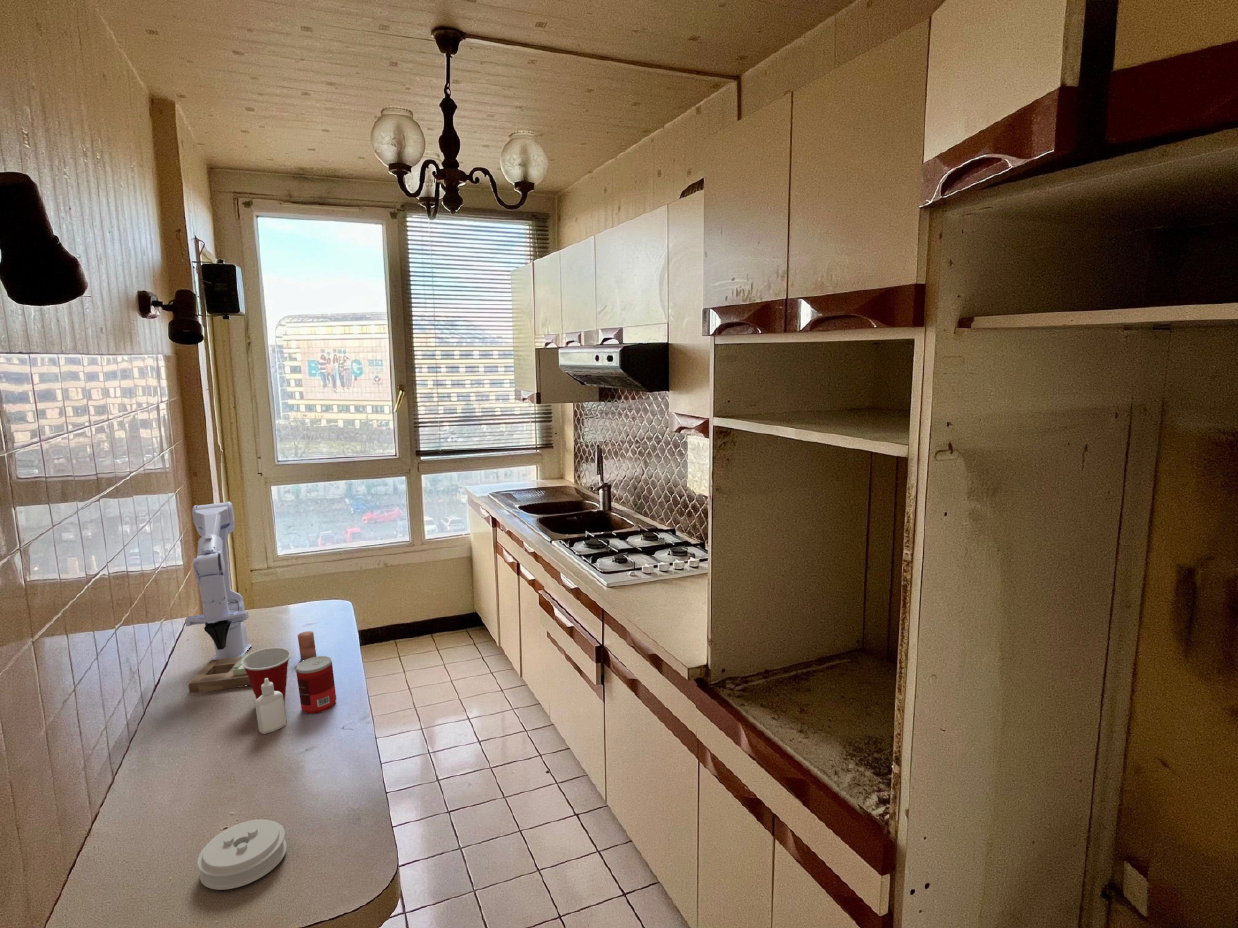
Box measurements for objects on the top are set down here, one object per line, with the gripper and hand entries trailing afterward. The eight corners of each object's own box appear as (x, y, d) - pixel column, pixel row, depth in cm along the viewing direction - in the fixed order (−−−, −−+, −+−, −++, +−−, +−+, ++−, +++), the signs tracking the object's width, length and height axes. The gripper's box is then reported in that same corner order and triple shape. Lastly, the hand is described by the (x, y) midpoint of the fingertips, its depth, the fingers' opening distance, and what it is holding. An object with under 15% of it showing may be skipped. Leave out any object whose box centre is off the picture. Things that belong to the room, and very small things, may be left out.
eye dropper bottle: (285, 729, 155) (279, 680, 153) (258, 735, 153) (250, 685, 151) (287, 720, 159) (281, 671, 157) (260, 726, 157) (253, 677, 155)
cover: (247, 658, 188) (246, 652, 188) (282, 654, 190) (281, 648, 189) (233, 675, 178) (232, 668, 178) (270, 670, 180) (269, 664, 179)
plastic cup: (260, 718, 161) (253, 670, 159) (239, 705, 167) (232, 659, 165) (305, 698, 169) (299, 652, 167) (283, 687, 176) (277, 643, 174)
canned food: (342, 697, 169) (337, 655, 167) (325, 714, 161) (320, 670, 159) (313, 697, 170) (307, 655, 168) (294, 714, 162) (288, 670, 160)
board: (212, 668, 189) (210, 660, 188) (282, 660, 192) (280, 652, 191) (189, 692, 175) (188, 683, 175) (265, 684, 178) (264, 674, 178)
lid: (300, 835, 120) (296, 809, 119) (265, 891, 108) (261, 863, 107) (226, 840, 120) (222, 814, 119) (183, 897, 107) (178, 869, 107)
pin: (303, 655, 194) (299, 632, 193) (318, 653, 195) (314, 630, 194) (299, 661, 191) (295, 637, 189) (314, 659, 191) (311, 636, 190)
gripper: (177, 607, 174) (185, 657, 177) (238, 601, 177) (245, 650, 179) (189, 597, 181) (196, 646, 183) (248, 591, 184) (255, 640, 186)
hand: (221, 647), depth 182 cm, fingers closed
